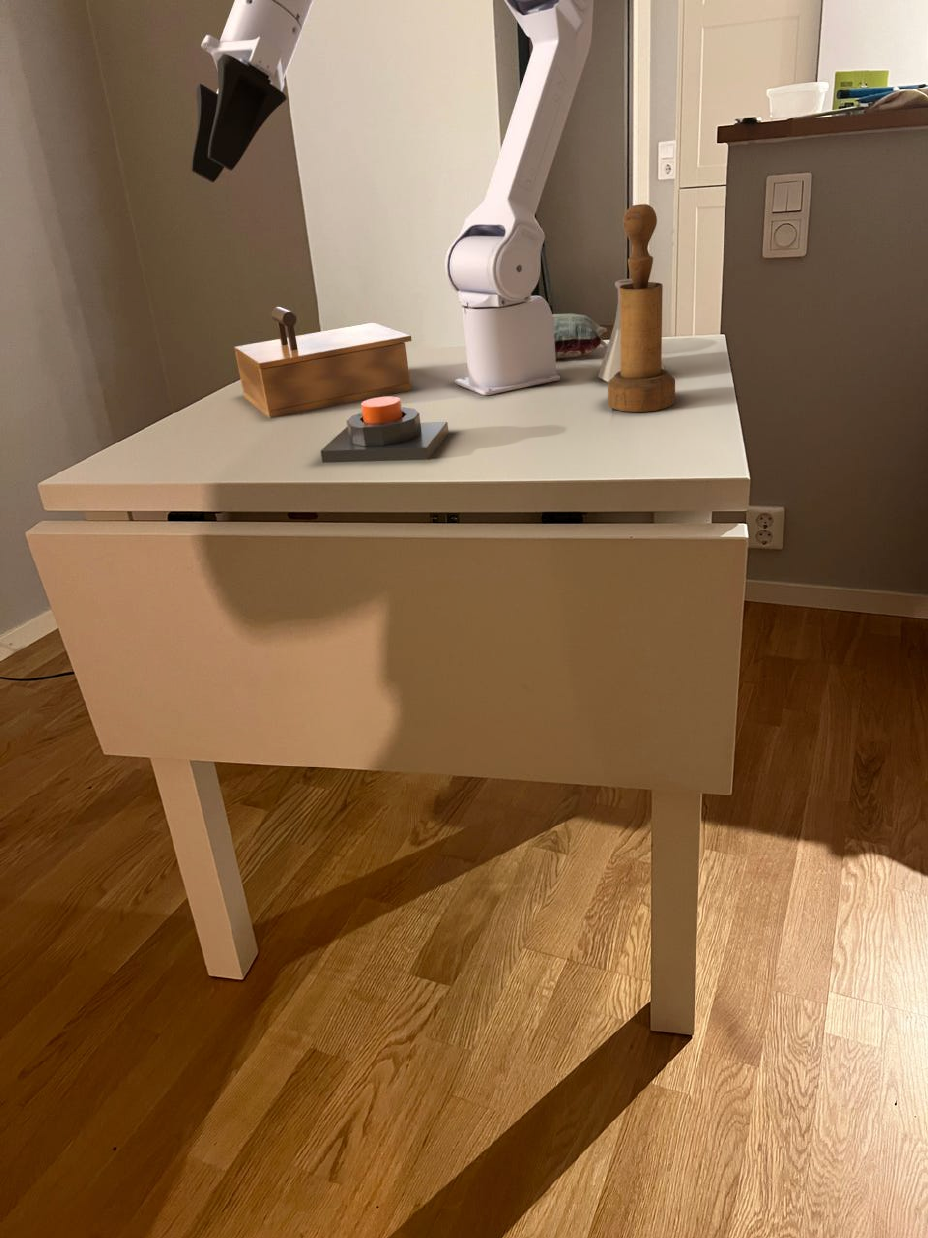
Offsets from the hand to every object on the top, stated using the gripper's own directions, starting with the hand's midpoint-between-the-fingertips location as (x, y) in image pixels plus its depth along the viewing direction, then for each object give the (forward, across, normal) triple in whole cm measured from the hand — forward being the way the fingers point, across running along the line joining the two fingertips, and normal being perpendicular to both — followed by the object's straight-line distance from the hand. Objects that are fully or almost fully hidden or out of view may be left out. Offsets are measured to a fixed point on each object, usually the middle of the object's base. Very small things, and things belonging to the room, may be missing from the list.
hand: (210, 170), depth 79 cm
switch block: (+16, +6, +22) cm, 28 cm away
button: (+13, +7, +20) cm, 25 cm away
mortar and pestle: (+2, +11, +43) cm, 45 cm away
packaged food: (-4, -15, +47) cm, 49 cm away
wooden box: (+12, -19, +22) cm, 32 cm away
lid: (+7, -19, +20) cm, 28 cm away
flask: (-2, +1, +47) cm, 47 cm away
